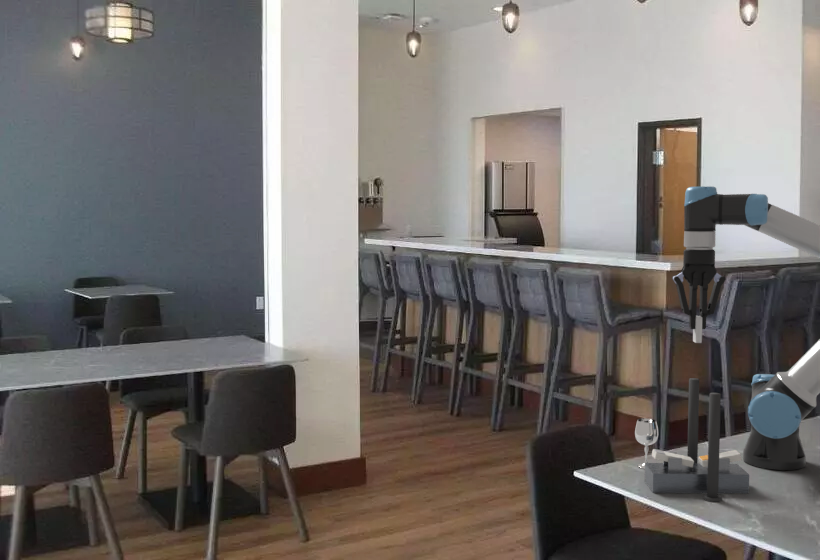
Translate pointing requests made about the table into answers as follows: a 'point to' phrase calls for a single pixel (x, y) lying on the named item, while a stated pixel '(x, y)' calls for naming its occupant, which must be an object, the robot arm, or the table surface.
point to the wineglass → (646, 435)
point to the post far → (693, 419)
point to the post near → (713, 448)
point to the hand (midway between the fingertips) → (697, 342)
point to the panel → (694, 477)
